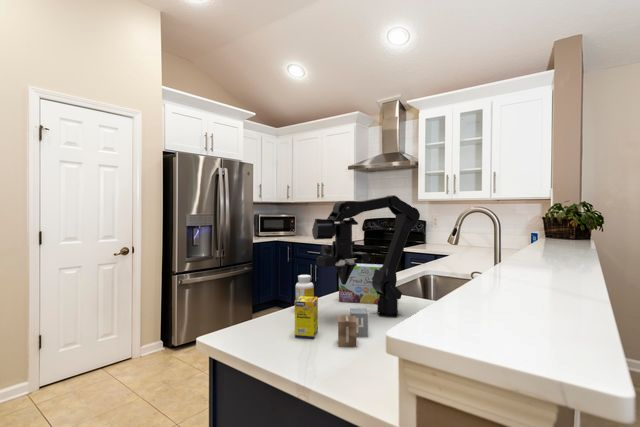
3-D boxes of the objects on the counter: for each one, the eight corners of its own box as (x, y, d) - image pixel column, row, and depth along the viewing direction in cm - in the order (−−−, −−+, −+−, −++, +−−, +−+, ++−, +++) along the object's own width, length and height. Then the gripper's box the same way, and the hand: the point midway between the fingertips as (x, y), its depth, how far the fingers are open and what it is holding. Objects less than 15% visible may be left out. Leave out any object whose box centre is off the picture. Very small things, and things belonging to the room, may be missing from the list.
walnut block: (355, 340, 100) (355, 315, 100) (356, 347, 95) (356, 321, 95) (338, 339, 100) (338, 315, 100) (338, 347, 95) (338, 321, 95)
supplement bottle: (316, 308, 130) (316, 274, 129) (310, 314, 123) (309, 278, 123) (299, 307, 132) (299, 273, 131) (292, 312, 126) (292, 277, 125)
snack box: (338, 302, 138) (338, 264, 138) (340, 298, 144) (340, 262, 143) (392, 305, 133) (392, 266, 133) (393, 301, 139) (393, 264, 138)
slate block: (366, 330, 107) (366, 308, 107) (368, 337, 102) (367, 313, 102) (350, 330, 108) (350, 308, 107) (350, 337, 102) (350, 313, 102)
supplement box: (314, 339, 101) (314, 302, 100) (294, 337, 102) (294, 301, 102) (318, 331, 107) (318, 296, 106) (299, 330, 108) (299, 295, 108)
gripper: (350, 235, 128) (350, 276, 129) (307, 238, 118) (307, 283, 119) (370, 237, 119) (370, 282, 120) (326, 241, 109) (326, 290, 109)
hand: (343, 284), depth 117 cm, fingers closed
